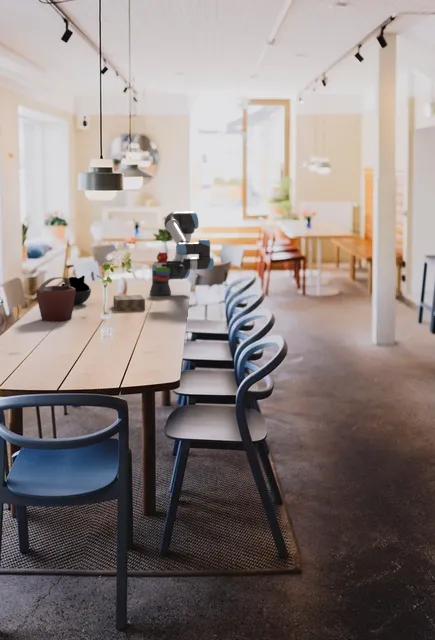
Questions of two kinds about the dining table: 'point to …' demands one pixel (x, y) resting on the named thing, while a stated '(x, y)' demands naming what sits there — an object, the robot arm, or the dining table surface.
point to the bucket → (56, 301)
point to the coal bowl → (79, 289)
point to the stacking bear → (164, 271)
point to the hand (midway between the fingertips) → (155, 264)
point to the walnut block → (129, 302)
